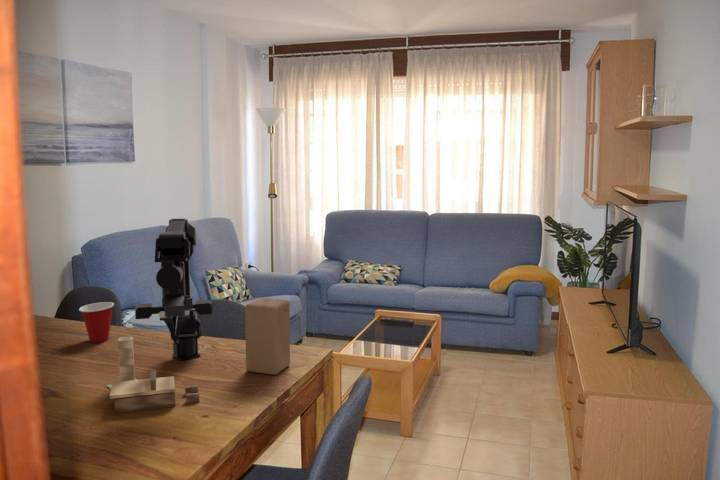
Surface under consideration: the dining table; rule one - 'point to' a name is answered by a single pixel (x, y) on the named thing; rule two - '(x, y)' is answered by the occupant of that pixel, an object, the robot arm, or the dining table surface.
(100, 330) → the plastic cup
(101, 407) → the dining table surface
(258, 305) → the wooden block
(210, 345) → the dining table surface
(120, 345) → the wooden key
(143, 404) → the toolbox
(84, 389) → the dining table surface
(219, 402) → the dining table surface
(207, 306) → the robot arm
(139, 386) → the lid
